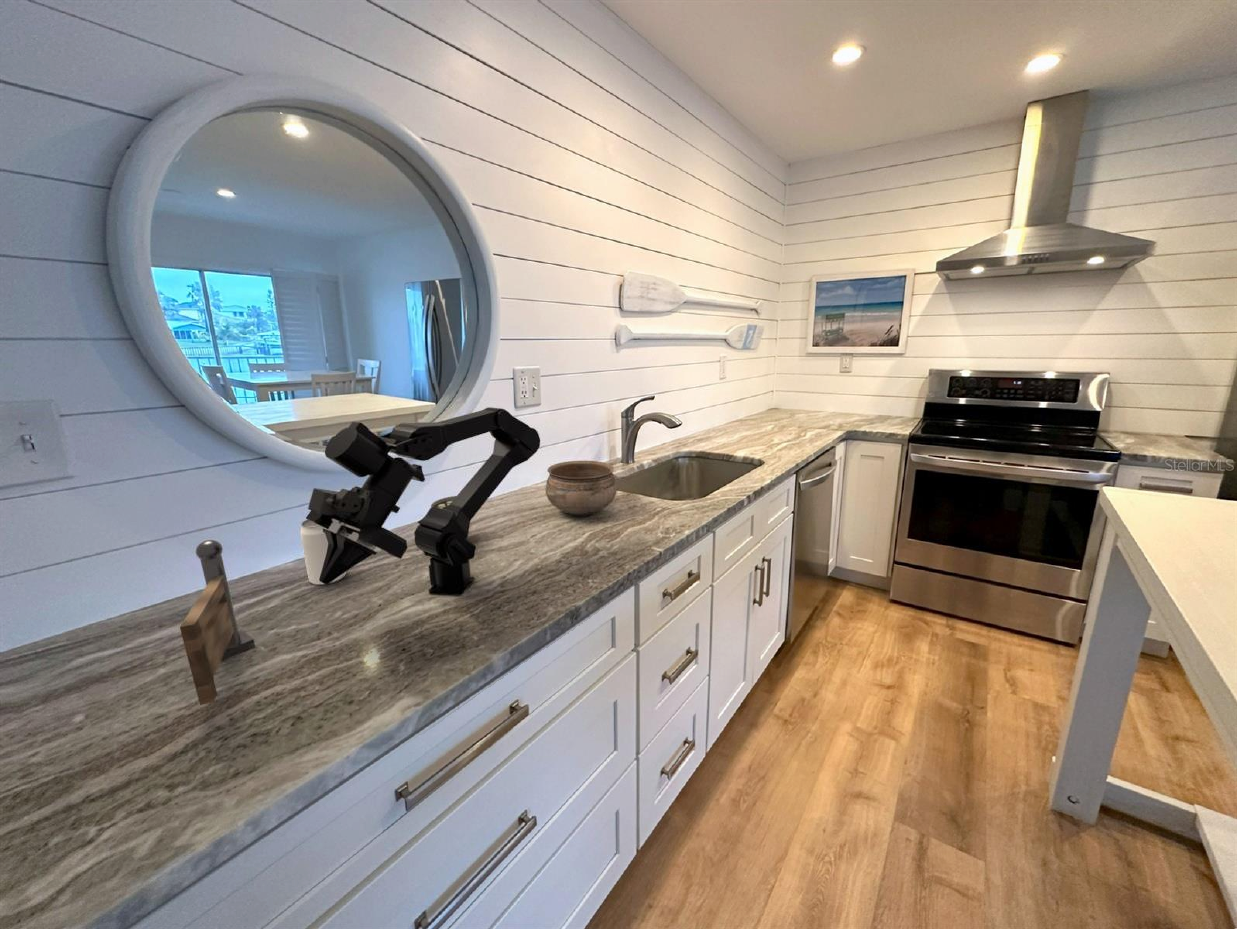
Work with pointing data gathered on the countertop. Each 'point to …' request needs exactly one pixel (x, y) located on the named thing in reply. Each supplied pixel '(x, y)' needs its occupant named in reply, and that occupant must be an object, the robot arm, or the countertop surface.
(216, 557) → the gate post
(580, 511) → the cooking pot
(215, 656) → the gate
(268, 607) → the countertop surface
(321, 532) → the can
